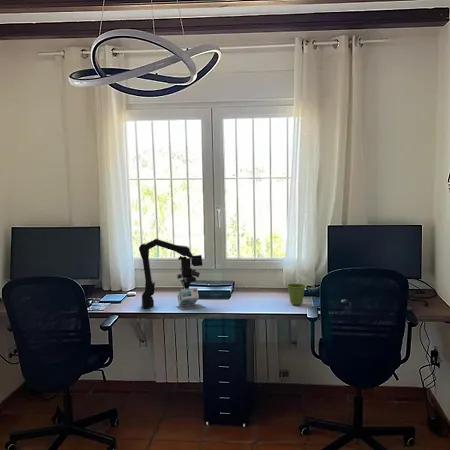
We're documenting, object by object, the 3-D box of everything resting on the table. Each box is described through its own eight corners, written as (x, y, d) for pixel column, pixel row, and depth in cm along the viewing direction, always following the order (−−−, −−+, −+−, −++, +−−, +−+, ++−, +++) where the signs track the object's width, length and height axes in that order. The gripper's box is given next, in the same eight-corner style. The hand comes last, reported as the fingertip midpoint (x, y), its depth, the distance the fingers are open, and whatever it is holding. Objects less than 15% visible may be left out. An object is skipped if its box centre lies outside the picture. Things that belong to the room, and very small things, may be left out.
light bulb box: (178, 306, 321) (182, 299, 312) (176, 295, 324) (180, 289, 315) (195, 304, 325) (199, 297, 316) (193, 294, 328) (197, 287, 319)
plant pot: (290, 306, 313) (290, 287, 313) (284, 302, 325) (284, 284, 324) (309, 304, 316) (308, 286, 315) (302, 300, 327) (302, 283, 326)
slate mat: (182, 310, 309) (182, 310, 309) (176, 306, 319) (176, 306, 319) (205, 307, 315) (205, 307, 315) (199, 304, 325) (199, 303, 325)
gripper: (203, 267, 316) (204, 292, 316) (192, 263, 333) (193, 288, 334) (186, 268, 311) (187, 294, 312) (176, 265, 328) (177, 289, 329)
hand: (186, 291), depth 322 cm, fingers closed
